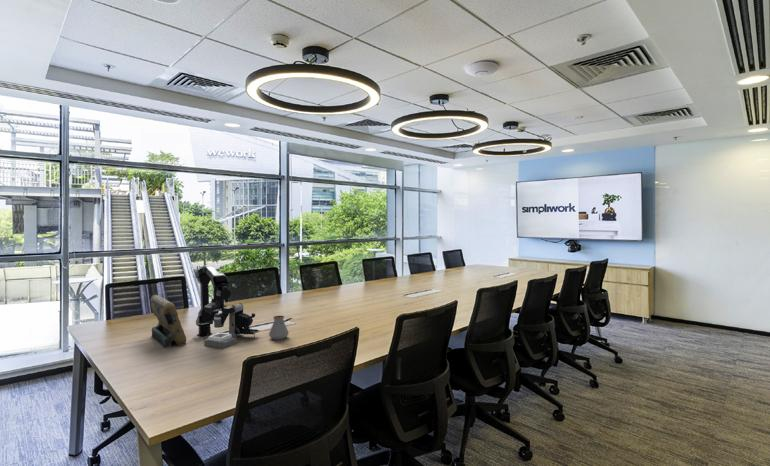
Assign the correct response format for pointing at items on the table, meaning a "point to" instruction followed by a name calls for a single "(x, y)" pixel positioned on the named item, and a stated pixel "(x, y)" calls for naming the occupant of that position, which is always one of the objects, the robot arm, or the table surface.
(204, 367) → the table surface
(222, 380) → the table surface
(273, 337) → the coffee pot
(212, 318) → the robot arm
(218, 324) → the lens
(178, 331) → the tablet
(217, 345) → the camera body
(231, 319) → the vintage camera
